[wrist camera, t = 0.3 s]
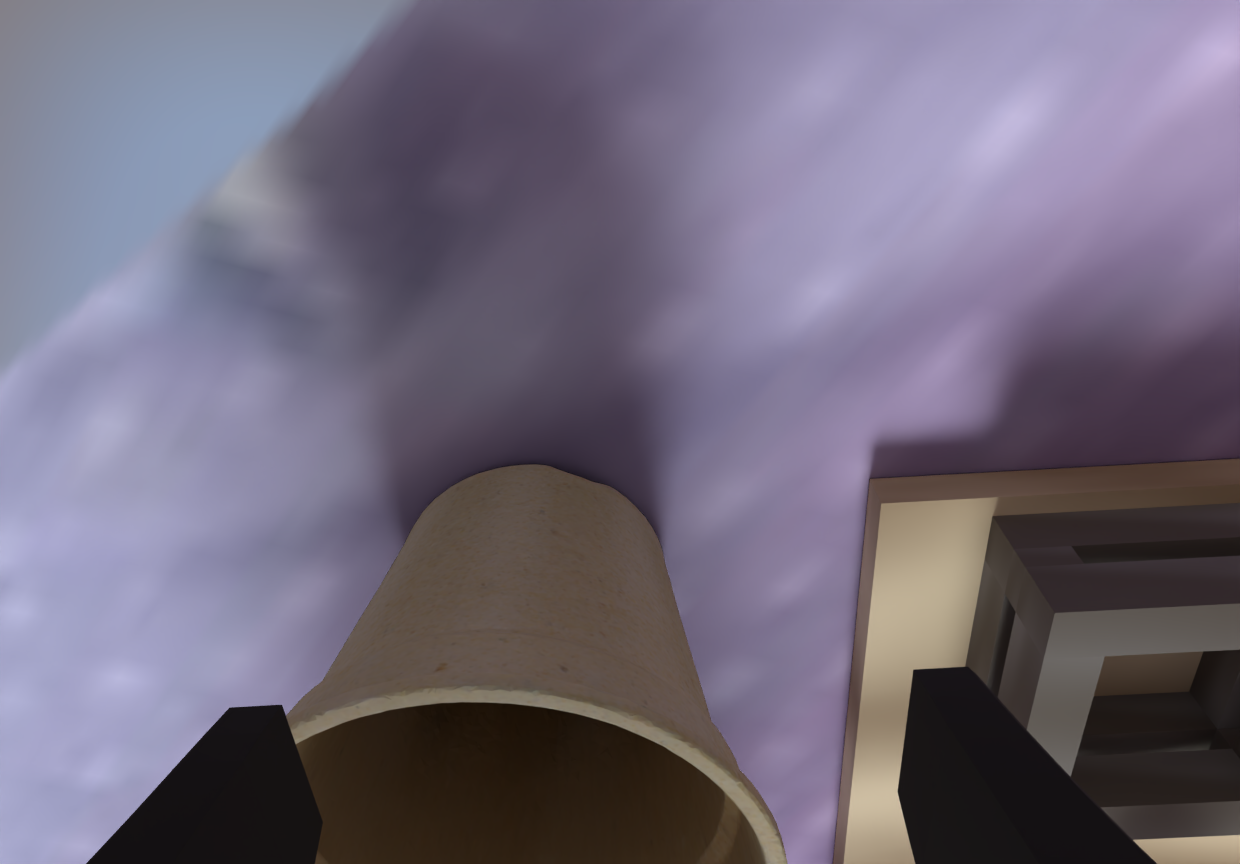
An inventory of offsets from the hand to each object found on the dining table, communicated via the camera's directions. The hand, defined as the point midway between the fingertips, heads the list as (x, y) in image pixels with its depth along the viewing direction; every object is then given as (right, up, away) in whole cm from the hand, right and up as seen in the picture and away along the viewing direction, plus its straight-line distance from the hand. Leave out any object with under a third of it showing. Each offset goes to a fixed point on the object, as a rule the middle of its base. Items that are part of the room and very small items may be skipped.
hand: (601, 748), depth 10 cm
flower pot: (-2, +1, +12) cm, 12 cm away
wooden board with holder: (+12, -4, +14) cm, 19 cm away
